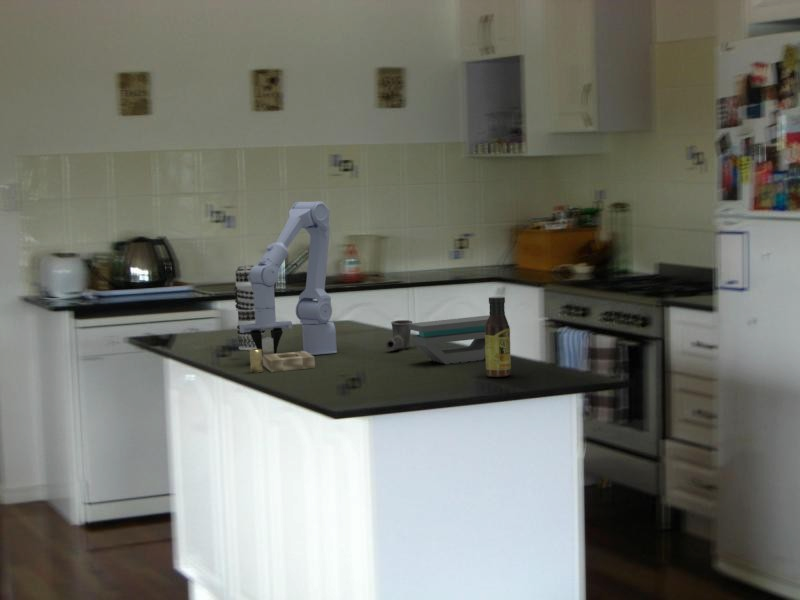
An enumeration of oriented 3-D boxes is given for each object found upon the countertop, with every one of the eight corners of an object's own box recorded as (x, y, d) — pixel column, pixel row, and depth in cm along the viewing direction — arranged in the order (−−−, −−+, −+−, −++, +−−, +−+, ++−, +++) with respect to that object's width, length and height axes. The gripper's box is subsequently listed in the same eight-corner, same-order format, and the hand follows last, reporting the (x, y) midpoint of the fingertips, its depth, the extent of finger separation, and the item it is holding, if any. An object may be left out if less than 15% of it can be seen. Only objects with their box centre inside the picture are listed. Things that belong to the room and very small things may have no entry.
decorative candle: (263, 344, 391) (259, 264, 388) (270, 348, 382) (265, 266, 379) (234, 347, 388) (229, 266, 385) (240, 351, 379) (235, 268, 376)
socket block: (305, 361, 353) (305, 351, 353) (315, 367, 341) (314, 356, 341) (263, 365, 350) (262, 354, 349) (271, 371, 338) (270, 360, 338)
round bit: (261, 370, 341) (260, 348, 340) (263, 372, 338) (262, 350, 337) (250, 371, 340) (248, 349, 340) (252, 373, 337) (250, 351, 336)
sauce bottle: (503, 378, 312) (501, 298, 310) (481, 377, 316) (478, 298, 313) (515, 374, 318) (513, 295, 316) (493, 373, 321) (491, 295, 319)
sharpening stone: (423, 367, 335) (421, 326, 334) (410, 363, 342) (408, 323, 341) (504, 357, 346) (503, 317, 345) (490, 353, 353) (489, 315, 352)
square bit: (272, 361, 356) (271, 337, 355) (274, 363, 353) (273, 338, 352) (261, 362, 355) (259, 337, 354) (263, 364, 352) (261, 339, 351)
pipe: (381, 353, 363) (380, 325, 363) (398, 346, 375) (397, 319, 374) (401, 353, 361) (400, 325, 360) (417, 346, 373) (416, 319, 372)
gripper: (286, 304, 358) (289, 351, 360) (236, 308, 354) (239, 356, 355) (292, 306, 352) (295, 355, 353) (241, 310, 347) (244, 359, 349)
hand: (267, 356), depth 354 cm, fingers closed on square bit, 3 cm apart
